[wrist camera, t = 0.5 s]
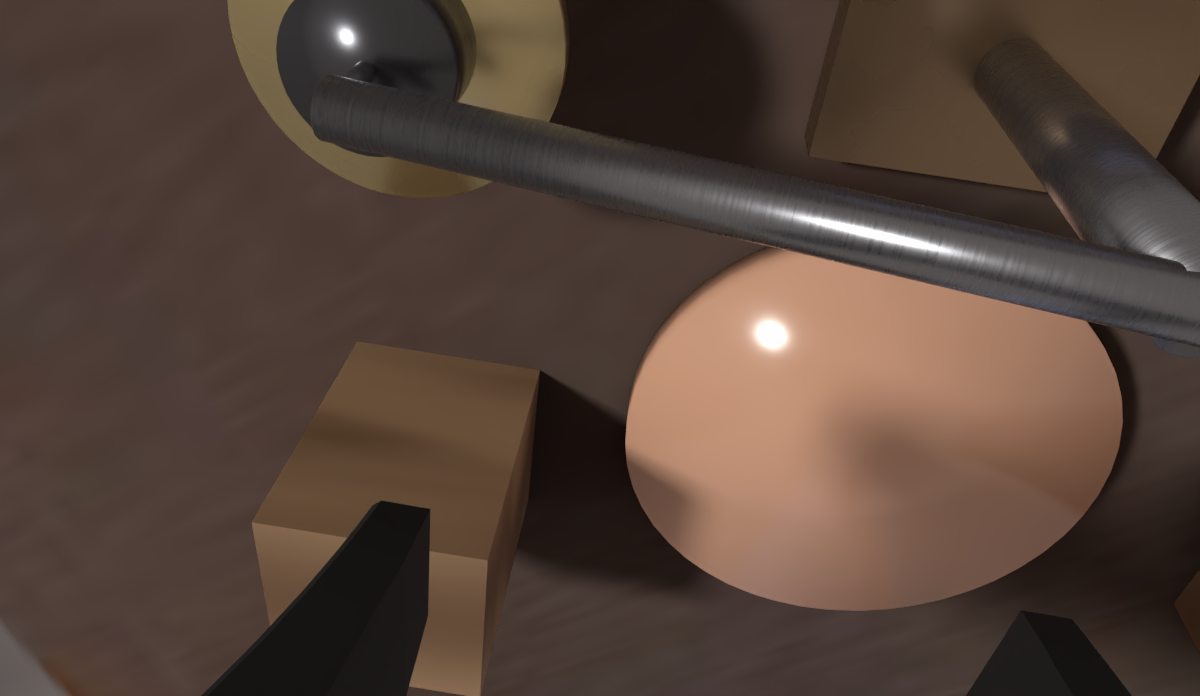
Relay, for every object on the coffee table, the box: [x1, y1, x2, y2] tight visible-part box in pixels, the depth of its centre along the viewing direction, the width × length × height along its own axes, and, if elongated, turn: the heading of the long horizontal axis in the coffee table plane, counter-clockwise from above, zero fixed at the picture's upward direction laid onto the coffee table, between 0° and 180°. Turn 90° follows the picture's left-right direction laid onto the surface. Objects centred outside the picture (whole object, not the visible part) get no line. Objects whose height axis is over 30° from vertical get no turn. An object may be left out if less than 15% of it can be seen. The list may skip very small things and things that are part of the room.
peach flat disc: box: [625, 246, 1123, 611], centre depth 21 cm, size 11×11×1 cm
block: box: [252, 342, 540, 696], centre depth 20 cm, size 4×4×6 cm
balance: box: [228, 0, 1200, 358], centre depth 12 cm, size 25×5×11 cm, turn 84°
